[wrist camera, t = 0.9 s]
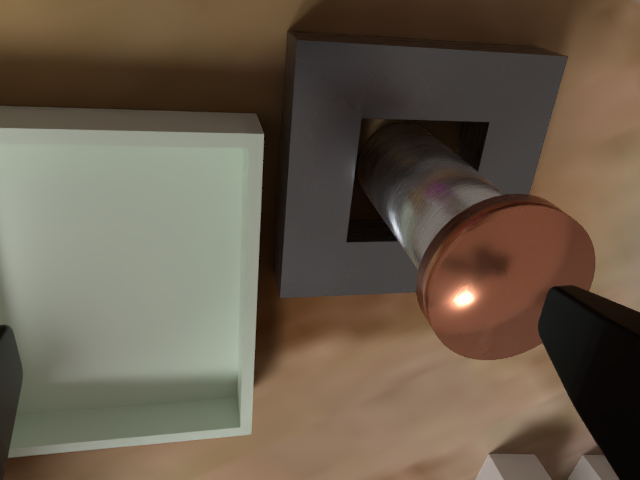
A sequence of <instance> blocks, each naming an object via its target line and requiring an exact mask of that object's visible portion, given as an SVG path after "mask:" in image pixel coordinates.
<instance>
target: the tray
mask: <svg viewBox="0 0 640 480" xmlns="http://www.w3.org/2000/svg"><path fill="white" fill-rule="evenodd" d="M263 150H264V132H263V130H262V127H261V125H260V122H259V119H258V117H257V114H255V113H223V112H190V111H158V110H125V109H93V108H60V107H28V106H0V325H1V324H7V325H9V326H10V327H11V328H12V330H13V332H14V335H15V339H16V343H17V347H18V351H19V355H20V359H21V363H22V368H23V381H22V387H21V392H20V397H19V403H18V408H17V413H16V418H15V423H14V428H13V434H12V439H11V444H10V449H9V454H8V458H11V457H22V456H32V455H42V454H53V453H63V452H74V451H84V450H95V449H105V448H115V447H126V446H136V445H147V444H157V443H167V442H178V441H188V440H199V439H209V438H219V437H230V436H240V435H251V430H252V406H253V383H254V360H255V336H256V313H257V290H258V266H259V243H260V220H261V196H262V173H263Z"/></svg>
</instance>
